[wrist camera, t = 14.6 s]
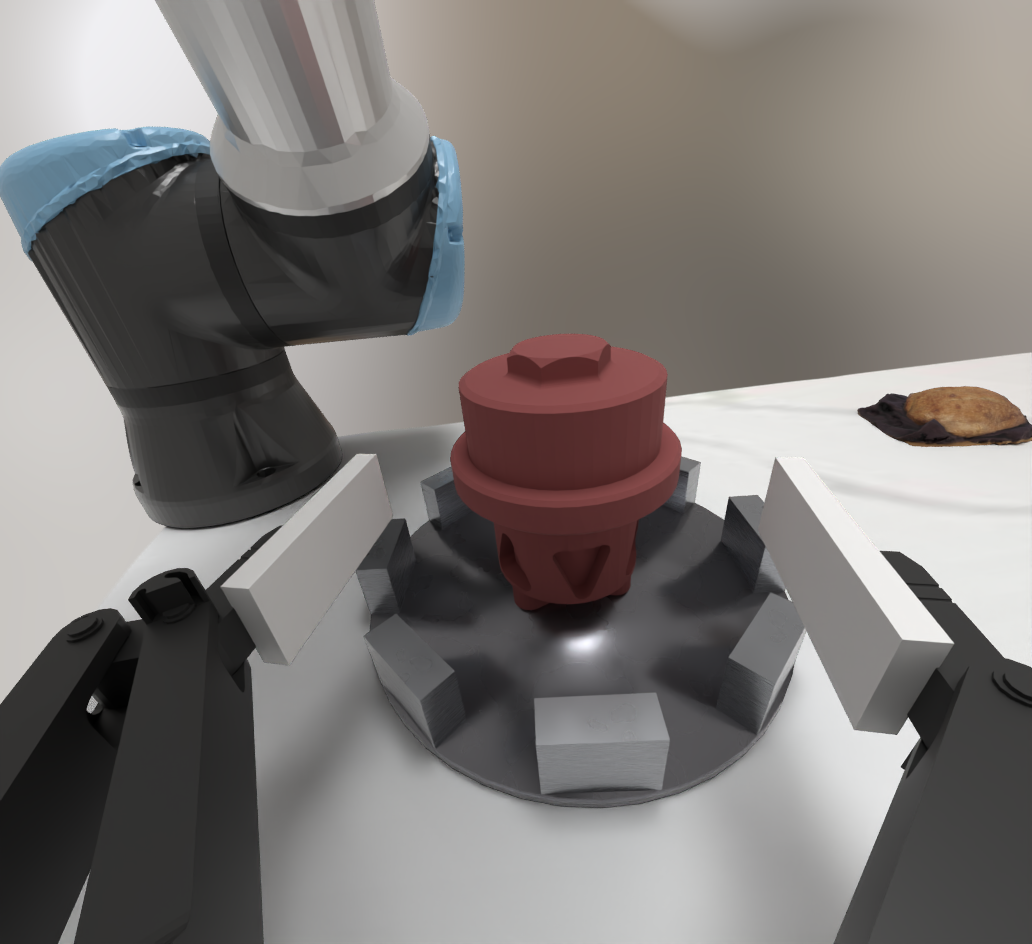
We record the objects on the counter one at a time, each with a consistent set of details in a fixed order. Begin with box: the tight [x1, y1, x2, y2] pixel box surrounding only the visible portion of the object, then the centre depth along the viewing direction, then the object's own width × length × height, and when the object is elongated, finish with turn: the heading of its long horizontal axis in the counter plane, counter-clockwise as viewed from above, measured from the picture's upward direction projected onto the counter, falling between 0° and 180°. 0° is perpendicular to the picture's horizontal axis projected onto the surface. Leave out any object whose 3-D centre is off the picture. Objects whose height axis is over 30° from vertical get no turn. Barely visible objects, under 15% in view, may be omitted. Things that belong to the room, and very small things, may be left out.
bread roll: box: [857, 386, 1032, 447], centre depth 35 cm, size 11×8×4 cm
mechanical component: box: [450, 334, 682, 610], centre depth 20 cm, size 12×10×10 cm
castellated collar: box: [356, 457, 806, 808], centre depth 23 cm, size 21×21×4 cm
